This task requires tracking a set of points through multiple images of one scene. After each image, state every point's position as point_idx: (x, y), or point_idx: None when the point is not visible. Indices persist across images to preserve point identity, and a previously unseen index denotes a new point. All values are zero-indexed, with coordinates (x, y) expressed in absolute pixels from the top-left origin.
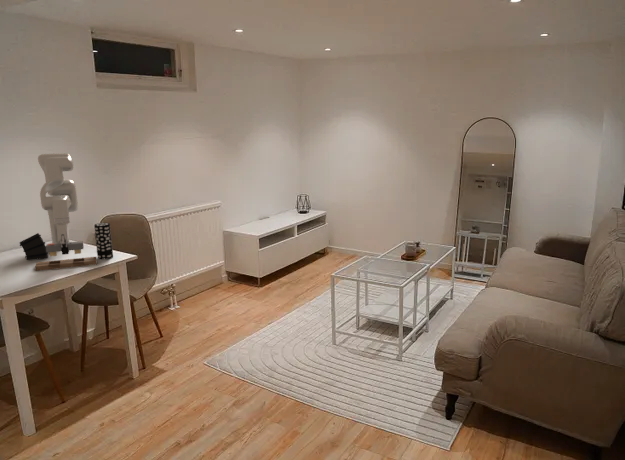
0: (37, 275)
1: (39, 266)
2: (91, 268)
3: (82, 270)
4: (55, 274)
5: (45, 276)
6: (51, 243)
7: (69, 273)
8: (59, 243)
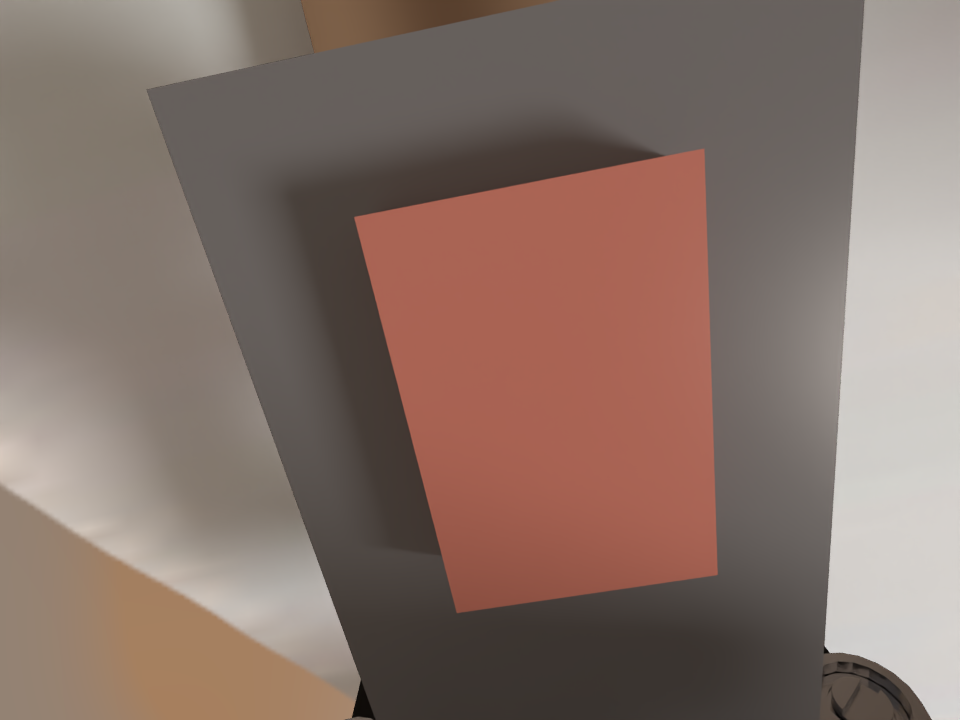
0: (47, 87)
1: (304, 4)
2: (354, 688)
3: (283, 623)
4: (116, 361)
5: (11, 243)
6: (663, 409)
7: (165, 518)
8: (758, 700)
